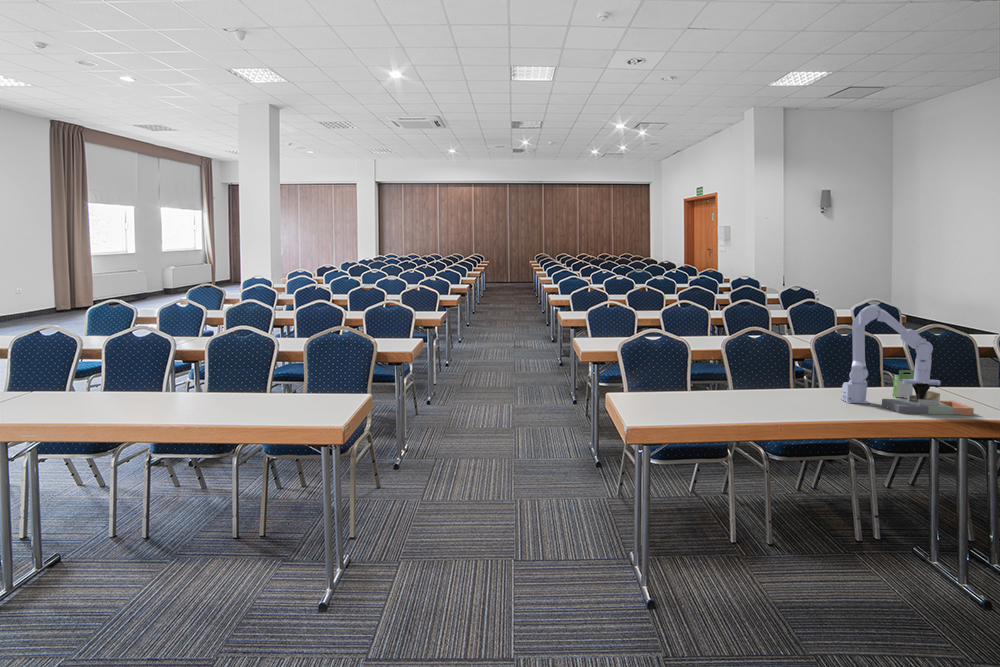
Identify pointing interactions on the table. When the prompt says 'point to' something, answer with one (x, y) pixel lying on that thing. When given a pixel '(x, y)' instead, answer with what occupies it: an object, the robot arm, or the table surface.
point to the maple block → (932, 395)
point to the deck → (927, 407)
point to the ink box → (900, 388)
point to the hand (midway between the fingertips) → (919, 401)
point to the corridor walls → (923, 401)
